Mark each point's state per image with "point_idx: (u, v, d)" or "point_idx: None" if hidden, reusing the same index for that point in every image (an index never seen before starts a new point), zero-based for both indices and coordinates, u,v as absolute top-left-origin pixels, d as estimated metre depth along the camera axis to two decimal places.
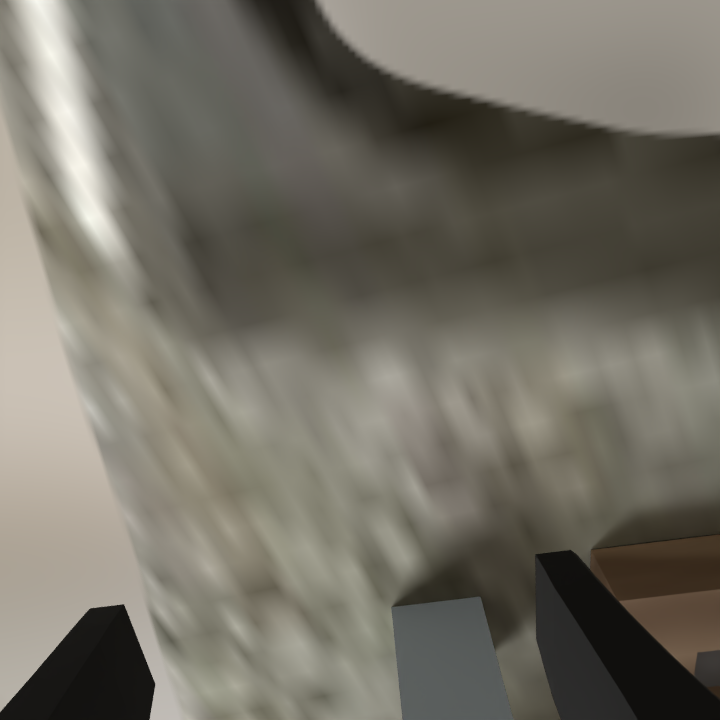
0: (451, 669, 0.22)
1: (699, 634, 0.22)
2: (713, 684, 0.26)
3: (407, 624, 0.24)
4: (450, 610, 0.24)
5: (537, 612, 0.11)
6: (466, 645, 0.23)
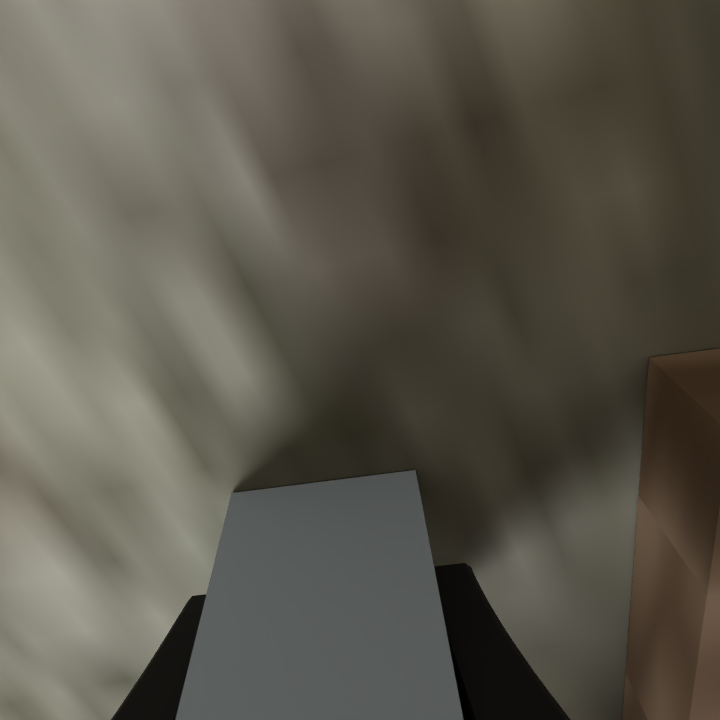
0: (327, 606, 0.09)
1: None
2: None
3: (253, 521, 0.11)
4: (349, 495, 0.11)
5: None
6: (370, 557, 0.10)
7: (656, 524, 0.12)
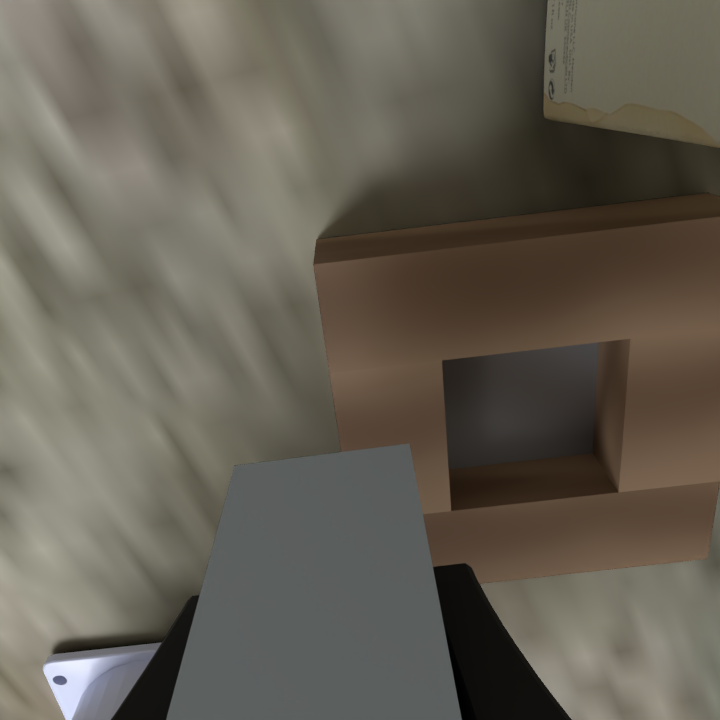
0: (324, 562, 0.10)
1: (438, 328, 0.16)
2: (508, 458, 0.21)
3: (255, 490, 0.12)
4: (346, 466, 0.12)
5: None
6: (366, 519, 0.10)
7: None
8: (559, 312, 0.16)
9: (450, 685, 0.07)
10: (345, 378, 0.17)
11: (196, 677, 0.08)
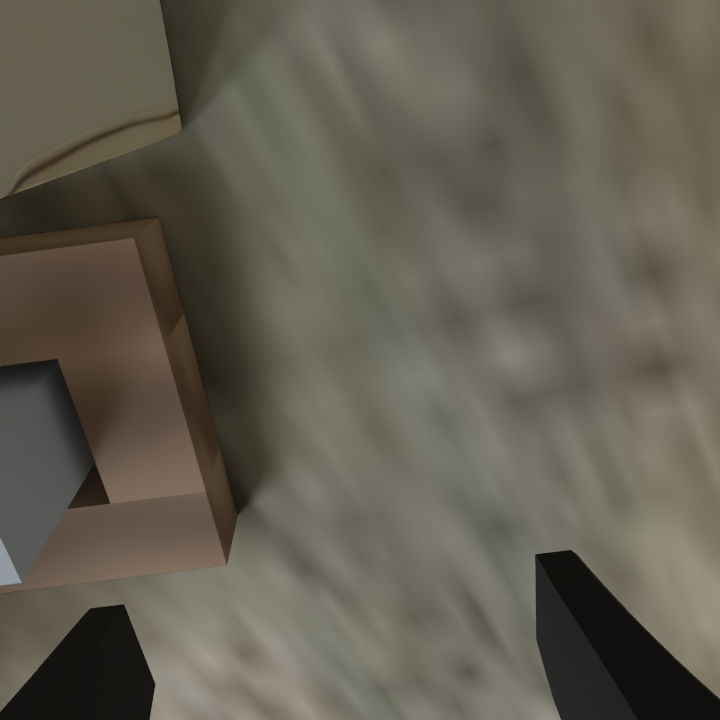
0: None
1: None
2: None
3: None
4: (22, 368, 0.19)
5: (537, 612, 0.11)
6: (6, 392, 0.18)
7: None
8: None
9: None
10: None
11: None
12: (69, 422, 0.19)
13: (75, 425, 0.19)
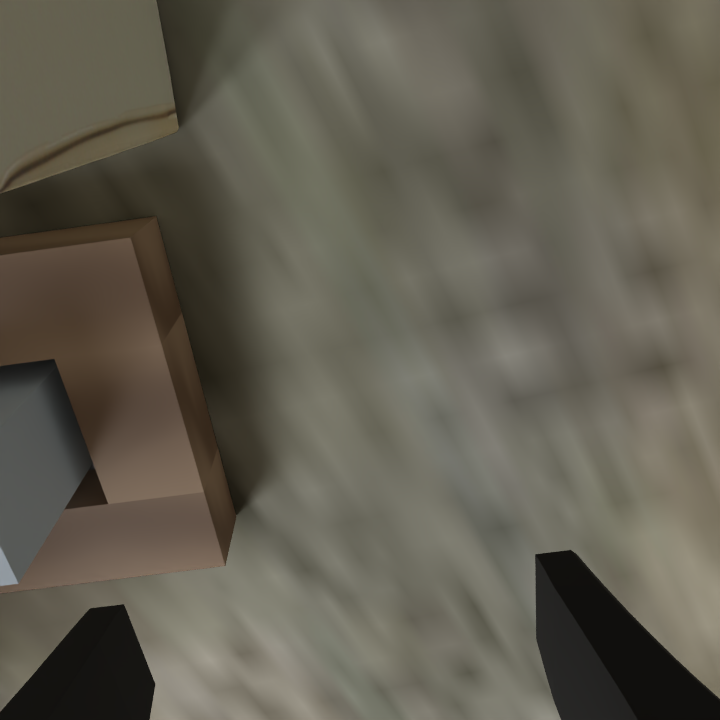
0: None
1: None
2: None
3: None
4: (19, 368, 0.19)
5: (537, 612, 0.11)
6: (3, 392, 0.18)
7: None
8: None
9: None
10: None
11: None
12: (67, 422, 0.19)
13: (73, 425, 0.19)
